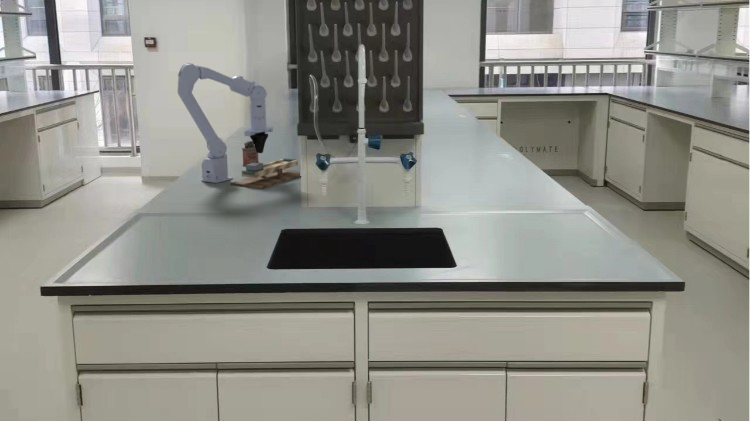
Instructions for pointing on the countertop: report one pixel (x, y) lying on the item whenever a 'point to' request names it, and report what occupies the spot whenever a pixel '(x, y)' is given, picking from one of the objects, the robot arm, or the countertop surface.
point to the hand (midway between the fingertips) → (259, 152)
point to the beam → (271, 168)
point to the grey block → (254, 167)
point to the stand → (268, 179)
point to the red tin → (249, 153)
